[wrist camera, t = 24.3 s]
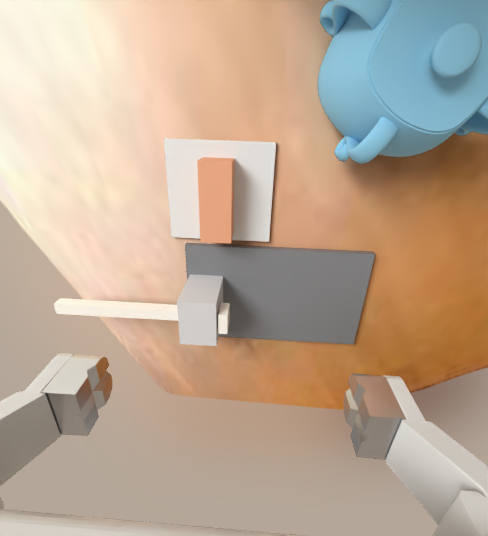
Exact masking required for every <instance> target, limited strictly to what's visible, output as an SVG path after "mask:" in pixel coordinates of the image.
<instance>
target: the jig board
mask: <svg viewBox="0 0 488 536" xmlns="http://www.w3.org/2000/svg"><path fill="white" fill-rule="evenodd" d="M185 251H186V268H187V282H186V284H185V286H184V288H183V290H182V292H181V294H180V296H179V298H178V300H177V312H178V324H179V337H180V344H191V345H208V346H217V341H218V336H219V337H236V338H253V339H270V340H287V341H305V342H322V343H339V344H354V341H355V337H356V332H357V328H358V324H359V320H360V316H361V312H362V308H363V303H364V299H365V295H366V291H367V287H368V283H369V279H370V274H371V270H372V266H373V262H374V258H375V254H374V252H367V251H346V250H325V249H304V248H283V247H262V246H241V245H220V244H199V243H186V245H185ZM221 303H230V320H229V327H228V333H227V334H218V321H217V313H218V309H219V307H220V305H221Z"/></svg>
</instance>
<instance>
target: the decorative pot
mask: <svg viewBox="0 0 488 536" xmlns="http://www.w3.org/2000/svg"><path fill="white" fill-rule="evenodd" d="M320 22H321V25H322V26H323V28H324V29H325V30H326V32H327V33H328V34H330V35H331V36H334V37H333V39H332V41H331V43H330V45H329V47H328V50H327V52H326V54H325V57H324V59H323V62H322V65H321V67H320V71H319V76H318V94H319V98H320V101H321V105H322V107H323V109H324V111H325V113H326V114H327V116H328V118H329V119H330V121H331V122H332V123H333V125H334V126H335V127H336V129H337V130H338V131H339V132H340V133H341V134H342V135H343V136H344V138H343V139H342V140H341V141H340V142H339V144H338V145H337V147H336V149H335V155H336V157H337V158H338V159H339V160H340V161H343V162H344V161H347V160H348V158H349V157H350V158H351V159H352V160H353V161H355V162H357V163H360V164H364V163H367V162H369V161H371V160H372V159H374V158H375V157H376V156H377V155H378V154H379V155H384V156H391V157H407V156H413V155H417V154H420V153H424V152H426V151H428V150H430V149H433V148H435V147H436V146H438V145H439V144H441V143H443V142H444V141H445V140H447V139H448V138H449V137H450V136H451V135H452V134H453V133H455V134H457V135H461V136H463V135H467V134H469V133H471V132H476V133H480V134H487V135H488V0H331V1H329V2H328V3H327V4H326V5H325V6H324V7H323V9H322V11H321V14H320Z"/></svg>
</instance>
